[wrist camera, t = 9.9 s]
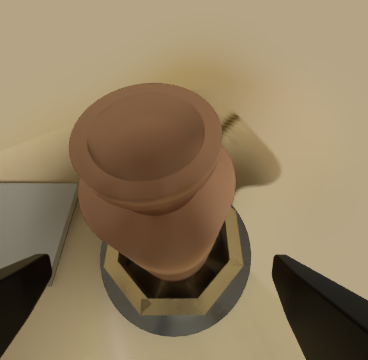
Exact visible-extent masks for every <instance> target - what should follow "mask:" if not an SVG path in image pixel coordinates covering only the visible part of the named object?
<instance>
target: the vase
mask: <svg viewBox="0 0 368 360" xmlns="http://www.w3.org/2000/svg"><path fill="white" fill-rule="evenodd" d="M221 142H222V127H221V123H220V120H219V118H218V115H217V114H216V112H215V110H214V109H213V108H212V106H211V105H210V104H209V103H208V102H207V101H206V100H205V99H203V98H202V97H201V96H199V95H198V94H196V93H194V92H192V91H190V90H188V89H185V88H182V87H178V86H175V85H170V84H162V83H145V84H138V85H132V86H128V87H125V88H121V89H118V90H116V91H114V92H111V93H109V94H107V95H105V96H103V97H102V98H100V99H99V100H97V101H96V102H94V103H93V104H92V105H91V106H89V107H88V108H87V109H86V110H85V111H84V113H83V114H82V115H81V116H80V117H79V119H78V120H77V122H76V124H75V125H74V128H73V130H72V132H71V136H70V140H69V155H70V159H71V162H72V165H73V167H74V169H75V171H76V172H77V173H78V175H79V176H80V180H79V185H78V199H79V205H80V209H81V212H82V215H83V217H84V219H85V221H86V223H87V224H88V226H89V227H90V229H91V230H92V231H93V232H94V233H95V234H96V235H97V236H98V237H99V238H100V239H102V240H103V241H104V242H106V243H107V244H108V245H110V246H111V247H113V248H114V249H116V250H117V251H119V252H120V253H121V254H123V255H124V256H126V257H127V258H129V259H130V260H132V261H133V262H134V263H136V264H137V265H139V266H140V267H142V268H143V269H145V270H146V271H148V272H149V273H150V274H152V275H153V276H155V277H156V278H158V279H160V280H162V281H165V282H169V283H179V282H184V281H186V280H189V279H191V278H192V277H194V276H195V275H196V274H198V273H199V272H200V270H201V269H202V268H203V266H204V264H205V263H206V260H207V258H208V256H209V254H210V251H211V249H212V247H213V245H214V243H215V240H216V238H217V236H218V234H219V231H220V229H221V227H222V225H223V223H224V220H225V218H226V216H227V214H228V211H229V209H230V207H231V204H232V202H233V198H234V194H235V186H236V178H235V171H234V166H233V163H232V161H231V158H230V156H229V154H228V152H227V151H226V149H225V148H224V147H223V145H222V144H221Z"/></svg>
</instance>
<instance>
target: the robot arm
mask: <svg viewBox="0 0 368 360" xmlns="http://www.w3.org/2000/svg"><path fill="white" fill-rule="evenodd" d="M51 277H52V266H51V261H50V256H49V255H48V254H35V255H32V256H30V257H28V258H25V259H23V260H20V261H18V262H15V263H13V264H11V265H8V266H6V267H3V268H1V269H0V358H1V357H2V355H3V354H4V352H5V351H6V349H7V348H8V346H9V345H10V343H11V342H12V341H13V339H14V338H15V336H16V335H17V333H18V332H19V330H20V329H21V327H22V326H23V325H24V323H25V322H26V320H27V318H28V317H29V315H30V314H31V312H32V310H33V309H34V307H35V305H36V303H37V302H38V300H39V298H40V296H41V295H42V293H43V291H44V289H45V288H46V286H47V284H48V282H49V281H50V279H51ZM272 278H273V281H274V284H275V287H276V290H277V292H278V295H279V298H280V301H281V304H282V306H283V309H284V312H285V315H286V317H287V320H288V322H289V324H290V326H291V328H292V331H293V333H294V335H295V337H296V339H297V341H298V343H299V345H300V348H301V350H302V352H303V354H304V356H305V358H306V360H368V300H366V299H364V298H362V297H361V296H359V295H357V294H355V293H353V292H351V291H350V290H348V289H346V288H345V287H343V286H341V285H339V284H337V283H336V282H334V281H332V280H330V279H328V278H327V277H325V276H323V275H321V274H319V273H318V272H316V271H314V270H312V269H310V268H309V267H307V266H305V265H303V264H301V263H300V262H298V261H296V260H294V259H292V258H291V257H289V256H287V255H275V256H274V259H273V268H272Z"/></svg>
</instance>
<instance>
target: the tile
mask: <svg viewBox="0 0 368 360" xmlns="http://www.w3.org/2000/svg"><path fill="white" fill-rule="evenodd" d="M78 185H79V184H78V183H0V269H1V268H3V267H6V266H8V265H11V264H13V263H15V262H18V261H20V260H23V259H25V258H28V257H30V256H32V255H35V254H48V255H49V256H50V261H51V266H52V277H51V279H50V281H49V282H48V284H47V286H51V285H52V282H53V279H54V275H55V272H56V268H57V265H58V262H59V258H60V255H61V252H62V248H63V245H64V242H65V238H66V235H67V231H68V228H69V225H70V221H71V218H72V215H73V211H74V208H75V204H76V201H77V198H78Z"/></svg>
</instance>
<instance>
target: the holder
mask: <svg viewBox="0 0 368 360" xmlns="http://www.w3.org/2000/svg"><path fill="white" fill-rule="evenodd" d="M250 265H251V249H250V242H249V237H248V234H247V231H246V228H245V225H244V223H243V221H242V219H241V217H240V215H239V214H238V213H237V211H236V210H235V208H234V207H233V206H232V205H231V207H230V209H229V211H228V214H227V216H226V218H225V220H224V223H223V225H222V227H221V229H220V231H219V234H218V236H217V238H216V240H215V243H214V245H213V247H212V249H211V251H210V254H209V256H208V258H207V260H206V263H205V264H204V266H203V268H202V269H201V270H200V272H199V273H198V274H196V275H195V276H194V277H192V278H191V279H189V280H186V281H184V282H179V283H169V282H165V281H162V280H160V279H158V278H156V277H155V276H153V275H152V274H150V273H149V272H148V271H146V270H145V269H143V268H142V267H140V266H139V265H137V264H136V263H134V262H133V261H132V260H130V259H129V258H127V257H126V256H124V255H123V254H121V253H120V252H119V251H117V250H116V249H114V248H113V247H111V246H110V245H108V244H107V243H106V242H104V241H103V242H102V247H101V273H102V278H103V282H104V286H105V288H106V291H107V293H108V295H109V297H110V299H111V301H112V302H113V304H114V306H115V307H116V308H117V309H118V311H119V312H120V313H121V314H122V315H123V316H124V317H125V318H126V319H127V320H129V321H130V322H131V323H133V324H134V325H136V326H137V327H139V328H140V329H143V330H145V331H147V332H150V333H153V334H157V335H161V336H171V337H177V336H187V335H191V334H195V333H198V332H201V331H203V330H205V329H207V328H209V327H211V326H213V325H214V324H216V323H217V322H219V321H220V320H221V319H222V318H223V317H225V316H226V315H227V314H228V313H229V312H230V310H231V309H232V308H233V307H234V306H235V304H236V303H237V301H238V300H239V298H240V297H241V295H242V293H243V290H244V288H245V286H246V283H247V280H248V276H249V271H250Z"/></svg>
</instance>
